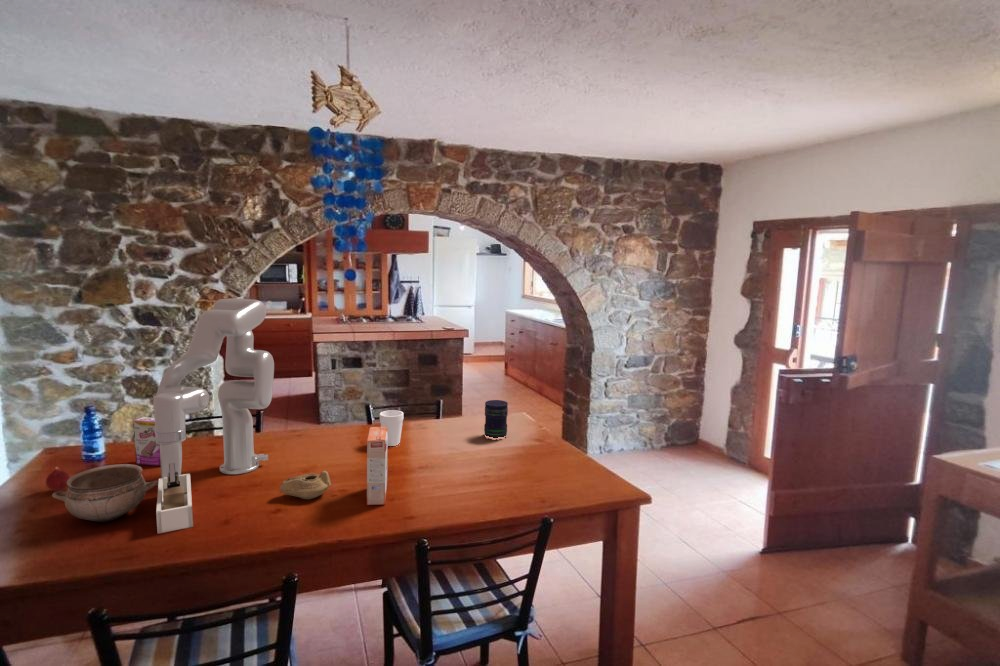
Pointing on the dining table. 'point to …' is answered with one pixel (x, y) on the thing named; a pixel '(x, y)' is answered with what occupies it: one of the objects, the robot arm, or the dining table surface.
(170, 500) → the walnut block
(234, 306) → the robot arm
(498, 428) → the storage jar
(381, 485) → the cracker box
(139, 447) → the candy bar box
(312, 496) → the oil lamp
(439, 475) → the dining table surface
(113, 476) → the cooking pot
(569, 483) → the dining table surface
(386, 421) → the foam cup
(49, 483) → the onion
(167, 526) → the box
